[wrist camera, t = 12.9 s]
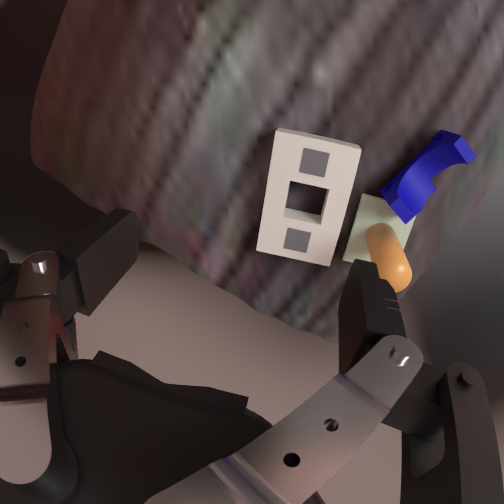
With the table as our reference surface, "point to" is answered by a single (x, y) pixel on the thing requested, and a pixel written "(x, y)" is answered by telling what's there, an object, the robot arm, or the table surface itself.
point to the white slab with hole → (312, 173)
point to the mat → (367, 216)
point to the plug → (388, 256)
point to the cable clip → (424, 174)
